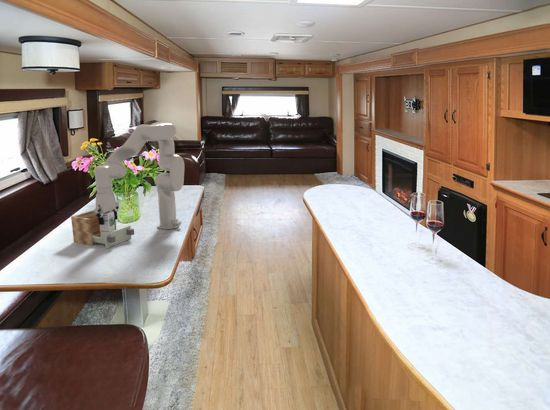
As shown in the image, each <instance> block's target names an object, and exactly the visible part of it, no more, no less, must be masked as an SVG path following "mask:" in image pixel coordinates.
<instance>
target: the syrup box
mask: <svg viewBox="0 0 550 410" xmlns="http://www.w3.org/2000/svg"><path fill="white" fill-rule="evenodd" d="M100 215H101V213H100ZM102 217H103V218H104V225H100V232H101V238H105V237H104V234H107V233H110V232H112V231H115V230H117V226H116V227H115V218H114V211H109V212H106V213H104V214H103V216H102Z"/></svg>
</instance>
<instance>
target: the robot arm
mask: <svg viewBox="0 0 550 410" xmlns="http://www.w3.org/2000/svg"><path fill="white" fill-rule="evenodd" d="M176 135H177V128H176V126H175V125H174V124H172V123H169V122H160V121H159V122H157V121H156V122H153V123H151V124H139V125H137V126H136V128H135V129H134V130H133V131H132V133H131V134H130V136H129V137H128V138H127V140H126V141H125V142H124V144H123V145H122V146H119V147H118V148H117V149H115V151H113V152H111V153H110V154H109V156H108V157H107V158H106V160H105V161H104V163H103V165H97V166H95V167H94V170H93V171H94V178H95V186H96V194H95V208H94V209H93V212H94V213H95V215H96V216H97V217H98V221H99V224H100V225H104V218H103V217H102V216H103V214H104V213H106V212H109V211H114V218H115V220H117V221H118V219H119V216H118V212H119V208H120V202H119V201H117V200H116V196H115V193H114V191H113V184H112V179H121V178H124V177H125V176H126V174H127V168H126V166H125V165H123V164H122V162H124V161H126V159H129V158H133V157H135V156H137V155H138V154H139V153H140V152H141V150H142V148H143V147H144V146H145V144H146V143H147V142H157V143H158V150H159V151H158V167H159V168H160V170H164V171H167V172H160V173H158V174H157V175H156V177H155V179H154V180H155V181H154V183H155V186H156V187H155V188H156V191H157V198H158V199H157V200H158V213H159V214H158V216H159V223H158V224H157V226H156V227H157V228H158V229H160V230H172V229H177V228H179V227H180V226H181V224H182V221H179V218H177V207H176V206H177V205H176V195H175V192H178V191H181V190H182V188H183V187H184V183H185V182H184V181H185V161H184V158H183V157H182V156H181V155H179V154H175V152H176V151H175V148H176V147H175V142H174V139H173V138H175V136H176ZM168 172H169V173H168ZM100 213H101V215H100Z"/></svg>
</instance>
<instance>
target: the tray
mask: <svg viewBox="0 0 550 410" xmlns="http://www.w3.org/2000/svg"><path fill="white" fill-rule="evenodd" d="M133 235H135V229H134V228H131V225H126V226H124V227H122V228H119V229H116V230H115V231H112V232H110V233H107V234H104V237H105V238H101V237H95V236H93V242H97V243H96V244H103V245H104V246H105V248H106V249H108V248H110V247H113V246H115V245H118V244H120V243H123V242H126V241H128V240H131V239H132V236H133Z"/></svg>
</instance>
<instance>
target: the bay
mask: <svg viewBox="0 0 550 410" xmlns="http://www.w3.org/2000/svg"><path fill="white" fill-rule="evenodd" d="M93 210H94V209H93ZM93 210H90V211H85V212H83V213H80V214H76V215H71V216H70V217H71V227H72V235H73V237H72V239H73V243H76V244H80V245H81V244H82V245H87V246H95V245H96V244H98V243H97V242H93V236H95V237H101V232H100V224H99V221H98V217H97V216H96V215H95V213H94V212H93ZM115 227H116V228H117V221H116V220H115Z"/></svg>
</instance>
